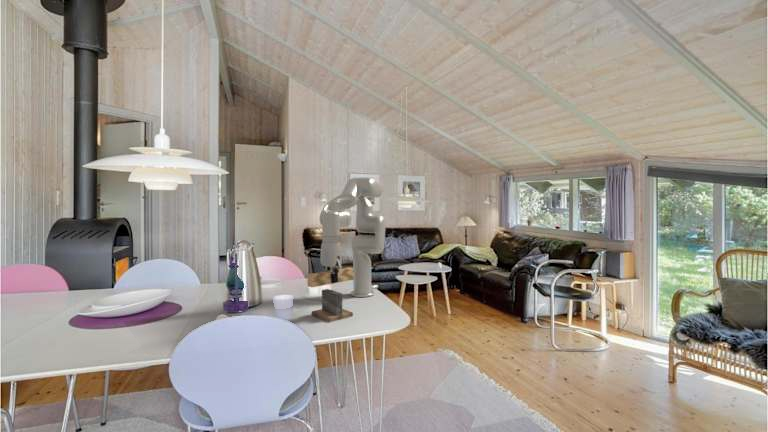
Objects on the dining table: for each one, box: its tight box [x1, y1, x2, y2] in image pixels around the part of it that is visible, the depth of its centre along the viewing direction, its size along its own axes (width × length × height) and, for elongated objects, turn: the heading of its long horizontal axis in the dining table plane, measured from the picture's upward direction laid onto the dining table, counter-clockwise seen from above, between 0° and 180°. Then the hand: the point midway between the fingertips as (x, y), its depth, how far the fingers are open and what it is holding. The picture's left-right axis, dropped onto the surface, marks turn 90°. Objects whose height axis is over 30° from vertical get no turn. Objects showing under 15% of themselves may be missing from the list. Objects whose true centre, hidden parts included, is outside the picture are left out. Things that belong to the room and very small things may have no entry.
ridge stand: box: [311, 288, 354, 323], centre depth 166 cm, size 12×14×10 cm
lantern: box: [222, 244, 249, 313], centre depth 174 cm, size 13×12×30 cm
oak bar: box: [306, 267, 354, 288], centre depth 166 cm, size 22×4×5 cm, turn 133°
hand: (331, 281), depth 166 cm, fingers closed on oak bar, 3 cm apart
